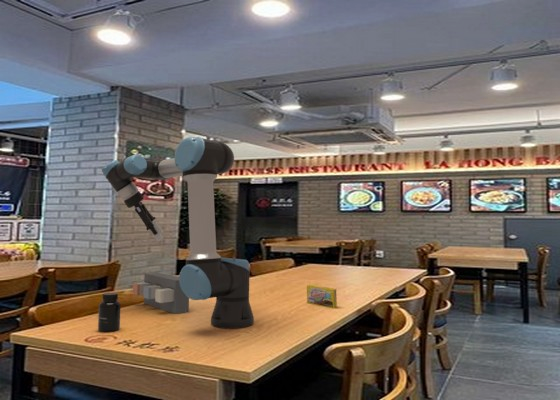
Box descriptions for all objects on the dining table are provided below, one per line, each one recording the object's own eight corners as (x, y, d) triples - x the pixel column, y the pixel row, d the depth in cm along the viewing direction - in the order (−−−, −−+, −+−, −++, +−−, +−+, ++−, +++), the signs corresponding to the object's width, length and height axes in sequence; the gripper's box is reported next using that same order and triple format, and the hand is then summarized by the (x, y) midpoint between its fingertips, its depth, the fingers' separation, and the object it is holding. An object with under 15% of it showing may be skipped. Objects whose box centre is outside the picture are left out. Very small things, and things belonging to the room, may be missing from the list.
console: (175, 314, 176) (175, 280, 177) (143, 303, 198) (144, 273, 199) (188, 312, 180) (189, 279, 181) (156, 301, 202) (157, 272, 203)
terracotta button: (137, 295, 191) (137, 284, 191) (132, 294, 194) (133, 283, 194) (155, 293, 196) (155, 282, 196) (150, 292, 199) (150, 281, 200)
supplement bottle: (96, 333, 146) (97, 295, 147) (99, 328, 153) (100, 292, 153) (119, 331, 148) (120, 294, 148) (120, 327, 155) (121, 291, 155)
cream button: (160, 303, 174) (160, 290, 174) (155, 301, 177) (155, 289, 178) (179, 300, 179) (179, 289, 179) (173, 299, 183) (174, 287, 183)
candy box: (306, 303, 201) (306, 284, 201) (309, 303, 202) (309, 284, 203) (333, 309, 189) (333, 289, 189) (337, 308, 190) (337, 288, 191)
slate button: (148, 299, 182) (148, 287, 182) (143, 297, 186) (143, 286, 186) (166, 297, 187) (166, 285, 188) (161, 295, 191) (161, 284, 191)
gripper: (124, 196, 197) (153, 235, 203) (120, 204, 174) (153, 248, 179) (139, 187, 199) (167, 226, 204) (137, 194, 175) (169, 237, 180)
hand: (160, 236), depth 191 cm, fingers open, 13 cm apart
